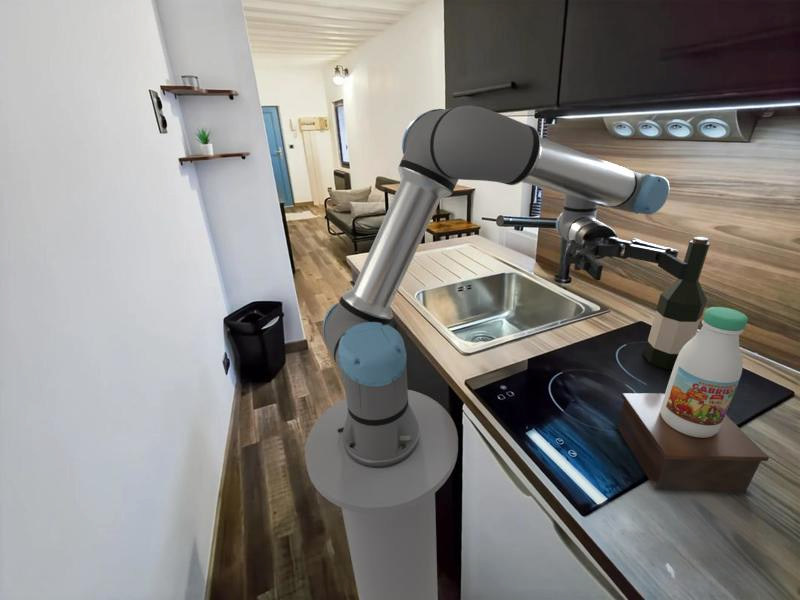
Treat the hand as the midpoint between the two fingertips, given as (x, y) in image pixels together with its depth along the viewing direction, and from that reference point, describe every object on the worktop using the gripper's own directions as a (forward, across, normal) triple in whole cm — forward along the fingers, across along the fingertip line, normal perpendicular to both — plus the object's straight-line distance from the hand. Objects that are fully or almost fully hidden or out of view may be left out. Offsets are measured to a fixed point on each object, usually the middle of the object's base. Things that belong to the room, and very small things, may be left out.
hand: (640, 272), depth 62 cm
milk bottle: (+13, -6, -22) cm, 26 cm away
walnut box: (+13, -6, -29) cm, 32 cm away
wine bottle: (-16, -20, -29) cm, 39 cm away
